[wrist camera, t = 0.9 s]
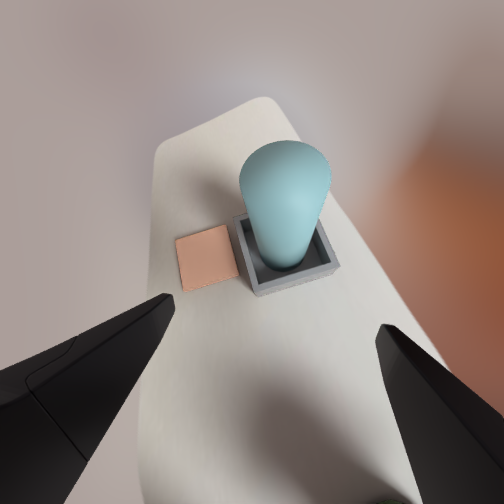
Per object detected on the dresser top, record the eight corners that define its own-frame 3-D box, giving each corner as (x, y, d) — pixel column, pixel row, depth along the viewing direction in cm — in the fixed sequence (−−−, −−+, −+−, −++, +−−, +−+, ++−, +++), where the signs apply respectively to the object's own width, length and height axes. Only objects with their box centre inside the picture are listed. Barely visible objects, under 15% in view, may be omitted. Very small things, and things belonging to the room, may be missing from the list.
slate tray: (331, 274, 22) (340, 266, 19) (257, 297, 22) (254, 292, 19) (304, 210, 25) (307, 193, 22) (238, 230, 25) (232, 217, 22)
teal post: (312, 264, 22) (347, 198, 10) (267, 277, 22) (252, 228, 11) (296, 224, 24) (310, 129, 12) (254, 237, 24) (230, 156, 12)
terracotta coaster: (239, 275, 23) (238, 274, 23) (185, 292, 24) (183, 291, 23) (226, 226, 26) (225, 224, 25) (177, 241, 26) (175, 240, 25)
